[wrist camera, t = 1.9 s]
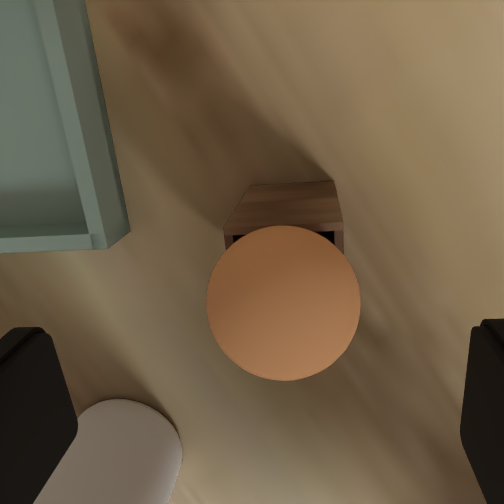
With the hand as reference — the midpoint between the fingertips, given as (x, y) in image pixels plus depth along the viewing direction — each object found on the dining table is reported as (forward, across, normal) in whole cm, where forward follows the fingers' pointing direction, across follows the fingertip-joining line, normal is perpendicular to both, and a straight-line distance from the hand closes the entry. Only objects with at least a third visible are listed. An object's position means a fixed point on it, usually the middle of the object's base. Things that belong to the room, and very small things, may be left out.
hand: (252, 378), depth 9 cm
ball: (+5, 0, +1) cm, 5 cm away
